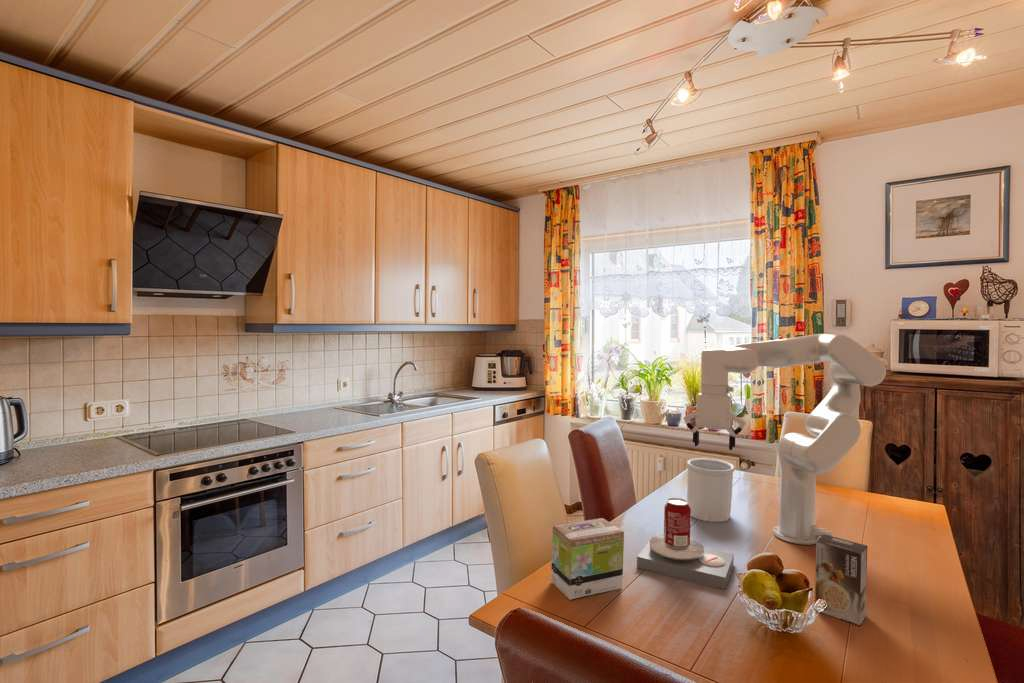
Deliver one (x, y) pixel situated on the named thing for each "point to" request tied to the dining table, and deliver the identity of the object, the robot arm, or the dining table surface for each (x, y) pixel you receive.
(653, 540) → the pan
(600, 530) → the tea box
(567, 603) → the dining table surface
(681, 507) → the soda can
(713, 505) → the utensil holder
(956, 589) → the dining table surface
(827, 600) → the coffee box
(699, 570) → the scale
